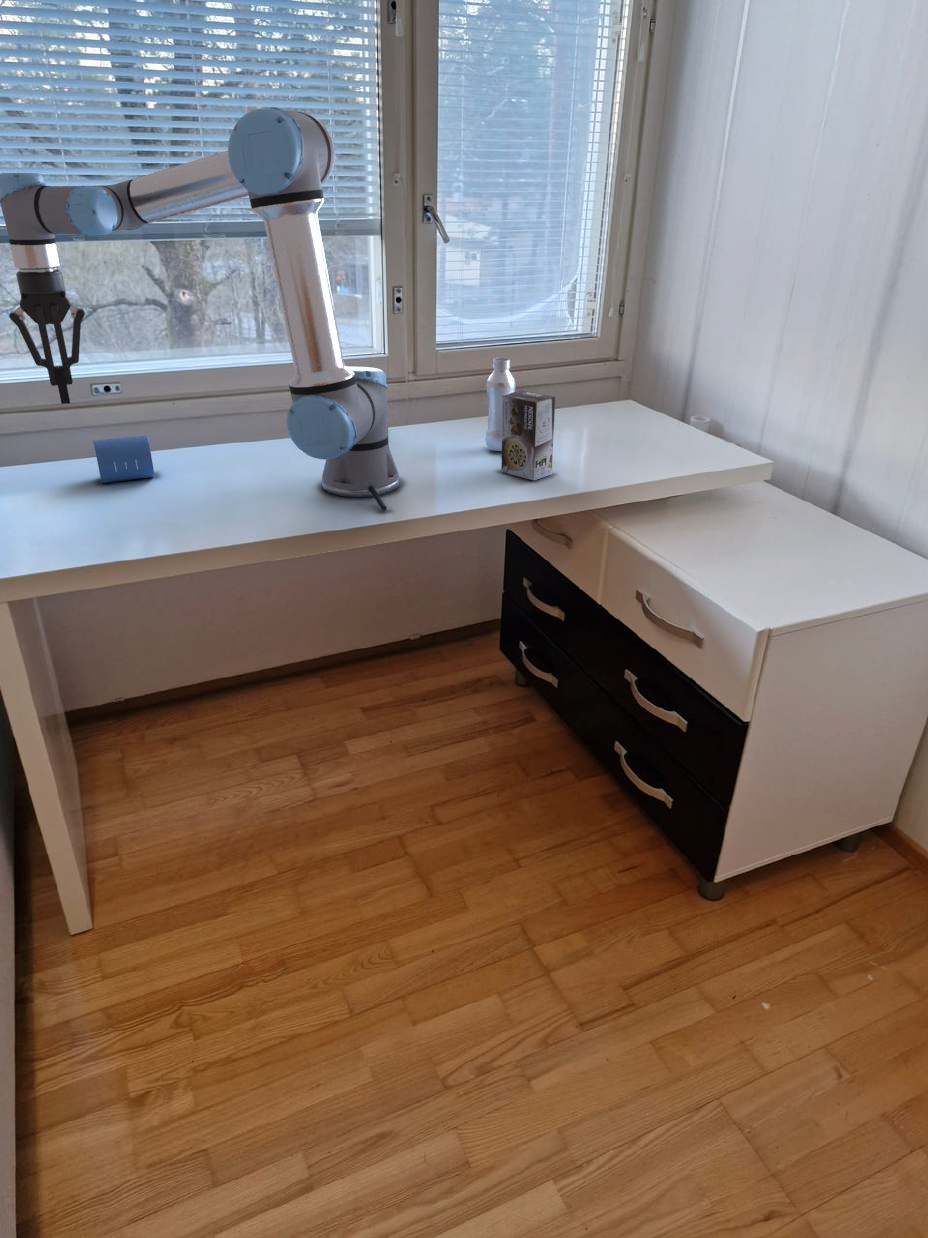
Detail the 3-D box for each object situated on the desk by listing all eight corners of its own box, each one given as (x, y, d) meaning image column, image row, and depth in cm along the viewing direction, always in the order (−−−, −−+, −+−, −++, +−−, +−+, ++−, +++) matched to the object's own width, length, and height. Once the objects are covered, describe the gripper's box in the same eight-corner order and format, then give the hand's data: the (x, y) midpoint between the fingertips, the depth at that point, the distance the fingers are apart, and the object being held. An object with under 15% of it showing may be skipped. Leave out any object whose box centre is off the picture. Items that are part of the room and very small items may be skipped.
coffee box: (553, 474, 180) (557, 396, 173) (533, 481, 176) (537, 401, 169) (519, 465, 186) (521, 388, 178) (499, 471, 182) (501, 394, 174)
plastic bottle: (519, 448, 196) (522, 358, 187) (504, 456, 191) (507, 363, 182) (494, 444, 199) (496, 354, 190) (479, 451, 194) (480, 359, 185)
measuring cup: (151, 468, 181) (144, 429, 177) (155, 482, 175) (149, 442, 171) (100, 474, 178) (92, 434, 174) (102, 489, 171) (94, 447, 167)
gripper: (77, 266, 160) (101, 394, 171) (-2, 268, 156) (28, 400, 166) (78, 270, 154) (103, 403, 165) (-3, 273, 149) (28, 409, 160)
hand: (65, 401), depth 166 cm, fingers closed
